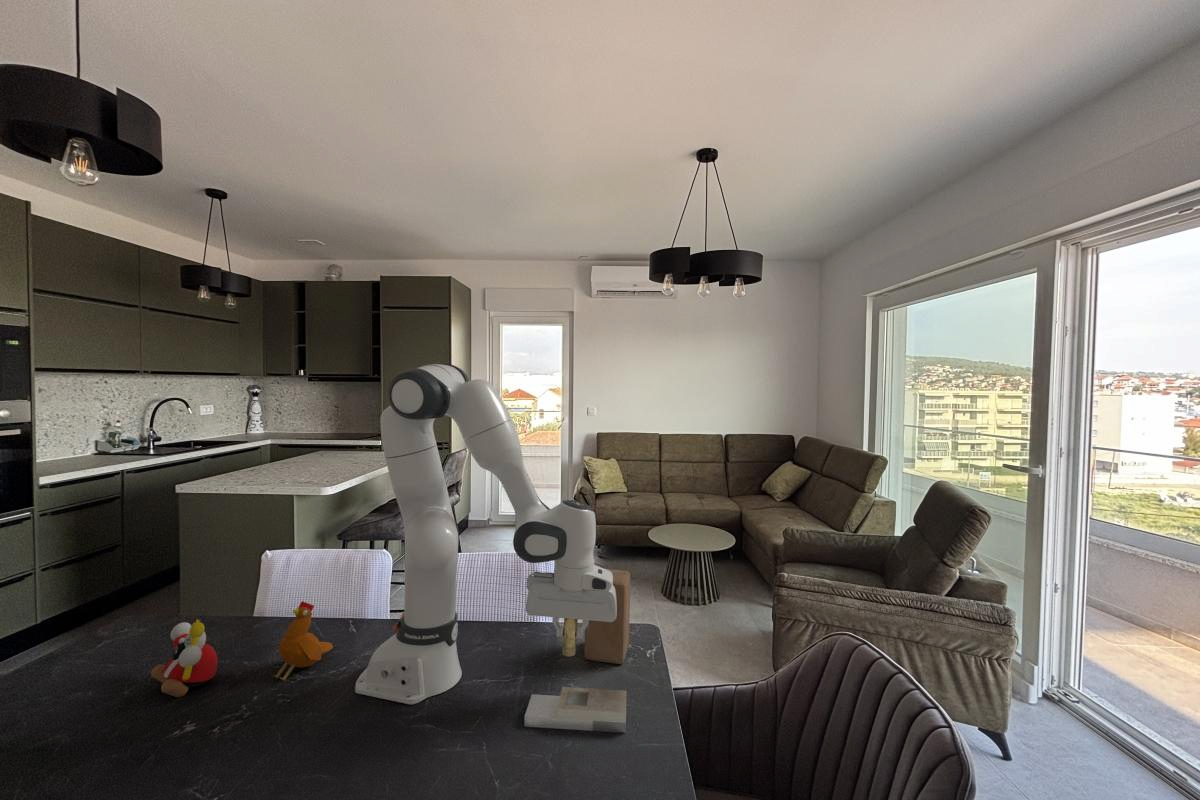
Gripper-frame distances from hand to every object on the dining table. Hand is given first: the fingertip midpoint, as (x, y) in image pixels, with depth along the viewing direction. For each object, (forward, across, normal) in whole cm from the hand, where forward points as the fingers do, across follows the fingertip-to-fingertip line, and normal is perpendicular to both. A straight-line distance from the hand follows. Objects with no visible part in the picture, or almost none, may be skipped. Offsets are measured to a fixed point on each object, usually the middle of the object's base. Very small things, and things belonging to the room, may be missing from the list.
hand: (569, 636), depth 108 cm
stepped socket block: (+12, +3, -9) cm, 15 cm away
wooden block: (+12, +8, +16) cm, 21 cm away
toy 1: (+15, -83, -6) cm, 84 cm away
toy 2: (+14, -63, +4) cm, 64 cm away
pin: (+4, 0, 0) cm, 4 cm away
